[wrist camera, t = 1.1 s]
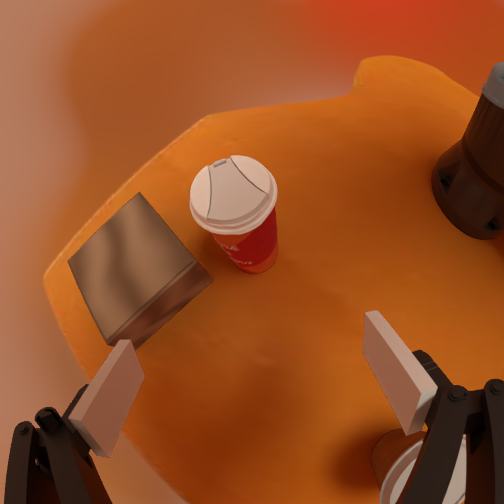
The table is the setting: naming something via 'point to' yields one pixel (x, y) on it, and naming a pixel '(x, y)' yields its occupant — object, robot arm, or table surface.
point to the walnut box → (135, 274)
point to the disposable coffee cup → (410, 466)
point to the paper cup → (238, 210)
